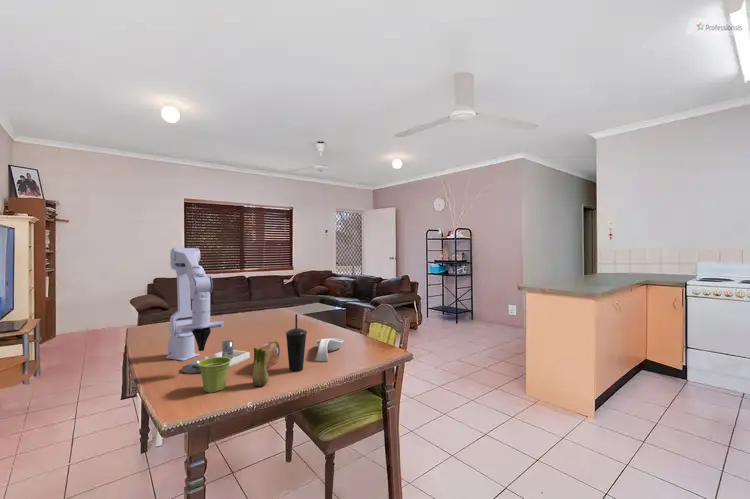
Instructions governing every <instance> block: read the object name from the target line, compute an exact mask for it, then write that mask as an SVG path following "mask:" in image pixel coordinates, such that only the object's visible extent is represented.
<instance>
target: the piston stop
mask: <svg viewBox="0 0 750 499" xmlns="http://www.w3.org/2000/svg"><path fill="white" fill-rule="evenodd" d="M221 345H222V346H221V351H222V357H227V358H230V359H232V358H233V350H234V340H231V339H229V340H224V341H221Z"/></svg>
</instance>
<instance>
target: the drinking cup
mask: <svg viewBox="0 0 750 499" xmlns="http://www.w3.org/2000/svg"><path fill="white" fill-rule="evenodd" d="M294 317H295V319H294V320H295V325H294V326H295V328H291V329H289V330H287V331H285V332H284V333H285V337H286V346H287V347H286V348H287V356H288V357H287V358H288V359H287V361H288V369H289V371H290V372H291V373H295V372H298V373H299V372H302V371H303V370H304V360H305V352H306V339H307V334H308V331H307V330H305V329H304V328H300V327H299V328H298V314H295V316H294Z"/></svg>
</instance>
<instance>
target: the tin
mask: <svg viewBox="0 0 750 499" xmlns="http://www.w3.org/2000/svg"><path fill="white" fill-rule="evenodd" d="M262 347H263V349H265V350H266V355H265V363H266V370H268V369H270V368H271V367H272V366H274V365H276V364H277V362H278V361H279V359H280V355H281V354H280V345H279V343H278V342H277V341H268V342H266V343H265V344H263V345H261V346H260V347H258V348H262Z"/></svg>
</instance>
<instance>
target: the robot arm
mask: <svg viewBox="0 0 750 499" xmlns="http://www.w3.org/2000/svg"><path fill="white" fill-rule="evenodd" d="M169 257H170V258H169V260H170V264H169V265H170V268H171V270H174V271H175V273H176V285H177V286H176V288H177V289H176V290H177V294H176V295H177V311H175V312H174V313H173V314H172V315H171V316H170V318H169V326H168V327H169V333H170V335H171V336H170V337H169V339H168V342H167V356H166V358H165V359H171V360H174V361H175V360H176V361H186V360H190V359H193V358H196V357H198V356H200V354H201V353H196V352H195V341H196V345H197V348H198V351H199V352H204V351H205V346H206V343H207V340H208V339H209V336H210V334H211V331H212V330H211V329H216V328H224V326H225V325H224V324H225V322H224V321H223V320H217V321H215V320H214V321H211V293H212V292H213V289H214V288H213V287H214V285H213V284H214V283H213V279H212V276H211V275H207V273H206V271H205V269H204V268H203V266H201V265H199V262H200V261H201V251H200V248H198V247H172V248H171V249H170V253H169Z"/></svg>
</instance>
